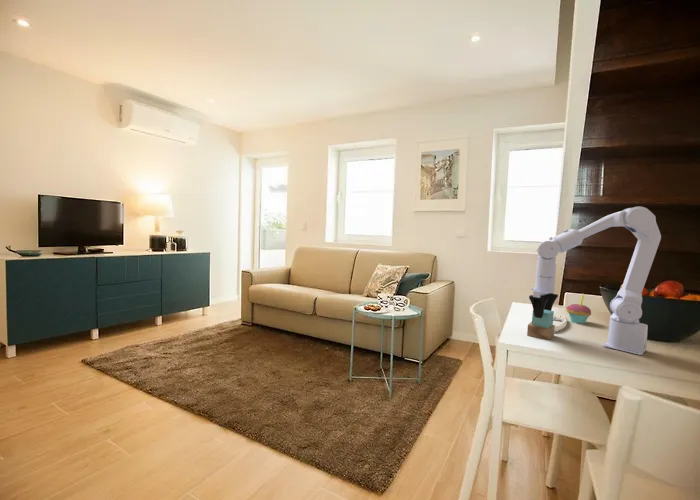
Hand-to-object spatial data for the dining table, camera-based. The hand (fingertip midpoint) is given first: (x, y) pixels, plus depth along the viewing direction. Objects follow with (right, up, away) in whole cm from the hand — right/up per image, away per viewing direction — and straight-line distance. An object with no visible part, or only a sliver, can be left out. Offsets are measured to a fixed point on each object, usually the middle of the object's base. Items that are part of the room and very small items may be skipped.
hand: (542, 315), depth 119 cm
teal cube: (0, -3, 0) cm, 3 cm away
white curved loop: (+11, -7, +15) cm, 20 cm away
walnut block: (0, -7, +1) cm, 7 cm away
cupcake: (+25, -7, +20) cm, 33 cm away
